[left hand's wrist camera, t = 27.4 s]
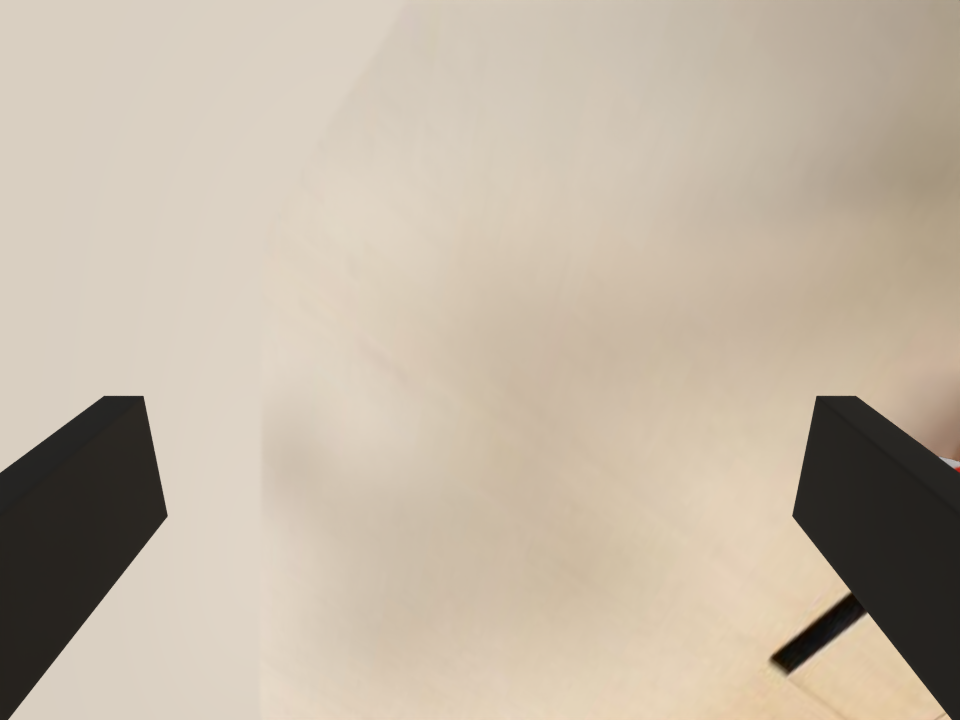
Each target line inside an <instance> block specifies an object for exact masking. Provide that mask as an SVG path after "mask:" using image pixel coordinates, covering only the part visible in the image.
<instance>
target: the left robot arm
mask: <svg viewBox="0 0 960 720" xmlns="http://www.w3.org/2000/svg"><path fill="white" fill-rule="evenodd" d="M167 516H168V515H167V510H166V505H165V500H164V495H163V491H162V485H161V481H160V476H159V471H158V466H157V461H156V456H155V451H154V446H153V441H152V436H151V431H150V426H149V421H148V416H147V412H146V406H145V401H144V396H103V397H102V398H101V399H99V400H98V401H97V402H95V403H94V404H93V405H91V406H90V407H89V408H87V409H86V410H85V411H83V412H82V413H80V414H79V415H78V416H76V417H75V418H74V419H72V420H71V421H70V422H68V423H67V424H66V425H64V426H63V427H62V428H60V429H59V430H57V431H56V432H55V433H53V434H52V435H51V436H49V437H48V438H47V439H45V440H44V441H43V442H41V443H40V444H39V445H37V446H36V447H35V448H33V449H32V450H30V451H29V452H28V453H26V454H25V455H24V456H22V457H21V458H20V459H18V460H17V461H16V462H14V463H13V464H12V465H10V466H9V467H8V468H6V469H5V470H4V471H2V472H1V473H0V720H8V719H9V718H10V717H11V715H12V714H13V713H14V712H15V710H16V709H17V708H18V706H19V705H20V704H21V703H22V701H23V700H24V699H25V697H26V696H27V695H28V694H29V692H30V691H31V690H32V689H33V687H34V686H35V685H36V683H37V682H38V681H39V680H40V678H41V677H42V676H43V675H44V673H45V672H46V671H47V669H48V668H49V667H50V666H51V664H52V663H53V662H54V661H55V659H56V658H57V657H58V655H59V654H60V653H61V652H62V650H63V649H64V648H65V646H66V645H67V644H68V643H69V641H70V640H71V639H72V638H73V636H74V635H75V634H76V632H77V631H78V630H79V629H80V627H81V626H82V625H83V623H84V622H85V621H86V620H87V618H88V617H89V616H90V615H91V613H92V612H93V611H94V610H95V608H96V607H97V606H98V604H99V603H100V602H101V601H102V599H103V598H104V597H105V595H106V594H107V593H108V592H109V590H110V589H111V588H112V586H113V585H114V584H115V583H116V581H117V580H118V579H119V578H120V576H121V575H122V574H123V573H124V571H125V570H126V569H127V567H128V566H129V565H130V564H131V562H132V561H133V560H134V558H135V557H136V556H137V555H138V553H139V552H140V551H141V549H142V548H143V547H144V546H145V544H146V543H147V542H148V541H149V539H150V538H151V537H152V536H153V534H154V533H155V532H156V530H157V529H158V528H159V527H160V525H161V524H162V523H163V521H164V520H165V519H166V518H167ZM792 516H793V518H794V519H795V520H796V521H797V523H798V524H799V525H800V527H801V528H802V529H803V530H804V532H805V533H806V534H807V536H808V537H809V538H810V539H811V541H812V542H813V543H814V544H815V546H816V547H817V548H818V550H819V551H820V552H821V553H822V555H823V556H824V557H825V558H826V560H827V561H828V562H829V564H830V565H831V566H832V567H833V569H834V570H835V571H836V573H837V574H838V575H839V576H840V578H841V579H842V580H843V581H844V583H845V584H846V585H847V587H848V588H849V589H850V590H851V592H852V593H853V594H854V595H855V597H856V598H857V599H858V601H859V602H860V603H861V604H862V606H863V607H864V608H865V610H866V611H867V612H868V613H869V615H870V616H871V617H872V618H873V620H874V621H875V622H876V624H877V625H878V626H879V627H880V629H881V630H882V631H883V632H884V634H885V635H886V636H887V638H888V639H889V640H890V641H891V643H892V644H893V645H894V647H895V648H896V649H897V650H898V652H899V653H900V654H901V655H902V657H903V658H904V659H905V661H906V662H907V663H908V664H909V666H910V667H911V668H912V669H913V671H914V672H915V673H916V675H917V676H918V677H919V678H920V680H921V681H922V682H923V683H924V685H925V686H926V687H927V689H928V690H929V691H930V692H931V694H932V695H933V696H934V698H935V699H936V700H937V701H938V703H939V704H940V705H941V706H942V708H943V709H944V710H945V712H946V713H947V714H948V715H949V717H950V718H951V719H952V720H960V473H959V472H958V471H957V470H955V469H954V468H952V467H951V466H950V465H948V464H947V463H946V462H944V461H943V460H942V459H940V458H939V457H938V456H936V455H935V454H934V453H932V452H931V451H930V450H928V449H927V448H925V447H924V446H923V445H921V444H920V443H919V442H917V441H916V440H915V439H913V438H912V437H911V436H909V435H908V434H907V433H905V432H904V431H903V430H901V429H900V428H898V427H897V426H896V425H894V424H893V423H892V422H890V421H889V420H888V419H886V418H885V417H884V416H882V415H881V414H880V413H878V412H877V411H875V410H874V409H873V408H871V407H870V406H869V405H867V404H866V403H865V402H863V401H862V400H861V399H859V398H858V397H857V396H816V401H815V406H814V411H813V416H812V421H811V426H810V431H809V436H808V441H807V446H806V451H805V456H804V461H803V466H802V471H801V476H800V480H799V485H798V490H797V495H796V500H795V505H794V510H793V515H792Z"/></svg>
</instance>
